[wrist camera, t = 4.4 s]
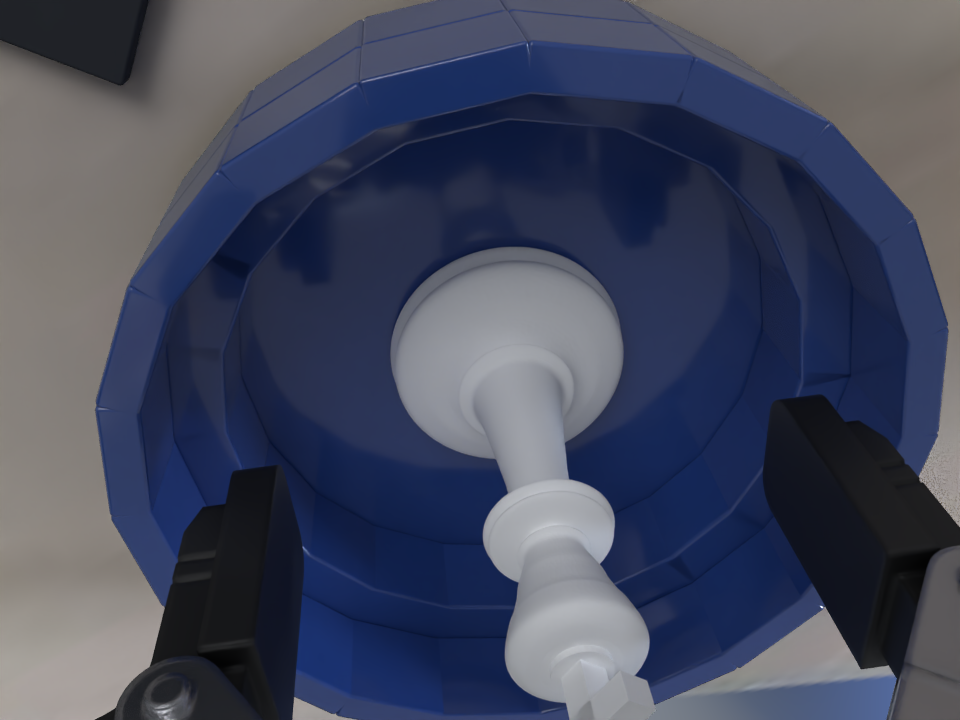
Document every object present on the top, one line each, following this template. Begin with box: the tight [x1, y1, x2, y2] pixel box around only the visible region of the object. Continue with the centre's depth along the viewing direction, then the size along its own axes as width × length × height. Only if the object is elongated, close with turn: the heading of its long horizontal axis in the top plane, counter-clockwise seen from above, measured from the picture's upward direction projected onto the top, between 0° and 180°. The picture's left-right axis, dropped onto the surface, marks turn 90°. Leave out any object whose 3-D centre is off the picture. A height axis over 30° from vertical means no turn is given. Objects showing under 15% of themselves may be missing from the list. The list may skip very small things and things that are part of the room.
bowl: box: [95, 0, 948, 720], centre depth 17 cm, size 14×14×4 cm
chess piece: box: [390, 247, 656, 720], centre depth 15 cm, size 5×5×10 cm
